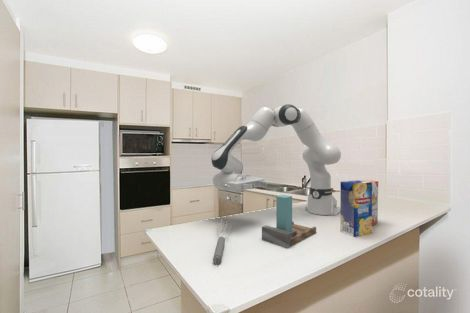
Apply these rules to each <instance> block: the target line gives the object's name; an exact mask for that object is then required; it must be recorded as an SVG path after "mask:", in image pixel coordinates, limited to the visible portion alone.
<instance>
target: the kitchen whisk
mask: <svg viewBox="0 0 470 313" xmlns="http://www.w3.org/2000/svg"><path fill="white" fill-rule="evenodd" d="M222 221H223V222H222ZM220 222H222V223H221V226H222V225H223V229H222V230H221V232H225V230H226V229H227V228H228V227H227V225H228V224H229V223H230V224H232V222H231V221H228V219H226V221H224V219H221V221H220ZM218 225H219V223H217V224H216V226H218ZM218 230H219V229H216V233H217V234H216V235H217V238H218V239H217V242H216V246H215V250H214V254H213V258H212V261H213V262H212V263H214V264H215V266H216V267H219V264H221V262H222V258H223V254H224V249H225V242H226V239H227V237H229V236H230V234H231V233H232V226H229V229H228V230H226V231H227V232H226V235H225V234H224V233H222V235H219V232H218ZM223 230H224V231H223ZM229 231H230V233H229ZM224 235H225V236H224ZM227 235H228V236H227ZM226 236H227V237H226Z"/></svg>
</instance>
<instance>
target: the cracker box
mask: <svg viewBox="0 0 470 313" xmlns="http://www.w3.org/2000/svg"><path fill="white" fill-rule="evenodd" d="M364 181H367V182H372V226H374V225H377V224H378V222H379V221H378V220H379V219H378V217H379V181H377V180H369V179H367V180H364Z"/></svg>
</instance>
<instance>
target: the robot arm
mask: <svg viewBox="0 0 470 313" xmlns="http://www.w3.org/2000/svg"><path fill="white" fill-rule="evenodd" d="M287 126H292V128H293V129H294V132H295V133H296V135H297V137H298V139H300V142H301V143H302V145H304V146H306V147H305V148H304V149H303V151H302V158H303V161H304V162H305V164H307V167H308V171H309V176H310V178H309V179H310V187H309V195H308V197H307V204H306V205H307V206H306V207H305V211H307V212H308V213H310V214H314V215H320V216H337V215H339V214H340V213H341V207H338V200H337V199H336V197H334V195H333V192H334V188H332V186H331V184H332V182H331V181H332V180H331V179H332V178H331V177H332V176H331V174H330V172H329V171H328V170H327V168H326V165H327V166H329V165H330V166H331V165H334V164H337V163H338V162H339V161H340V160H341V157H342V153H341V150H340V148H339V147H338V146H335V144H334V145H333V144H332V143H331V142H330V141H328V139H326V138H325V137H324V136H323V135H322V133H321V132H320V130H319V129H318V127H317V125H316V124H315V122H314V120H313V118H312V117H311V116H310V114H309V113H308V112H307V110H305V108H302V107H300V108H297V107H296V106H295V105H293V104H288V103H287V104H284V105H280V106H278V107H276V108H273V109H271V108H270V107H268V106H262V107H260V108H259V109H258V110H257V112H255V114H253V116H252V117H251V119H250V120H249V122H248V123H247V124H246V125H241V126H239V127H238V128H237V129H236V130H235V131H233V133H232V134H231V135H229V138H227V140H226V141H225V142H224V143H223V144H222V145H221V146H220V147H219V148H218V149H216V150H215V151H214V152H213V154H212V156H211V164H212V167H214V168H215V169H217V170H220V171H219V172H218V173H215V174H214V175H213V177H212V184H213V186H214V187H215V188H216V189H217V190H221V191H230V192H231V193H232V192H234V193H242V192H243V191H246V190H253V189H255V188H256V189H257V188H261V187H267V186H268V182H267V181H265V179H264V178H263V177H259V176H258V177H257V176H252V174H251V175H250V174H242V173H243V170H244V165H243V162H242V161H241V160H239V159H238V158H237V157H235V156H234V155H232V154H231V153H232V151H233V150H234V149H235V148H236V147H237V145H238V144H239V143H240V142H241V141H244V140H245V141H251V142H259V141H261V140H262V139H264V137H265V136H266V135H267V133H268V131H269V130H270V128H271V127H276V128H279V127H280V128H281V127H287Z"/></svg>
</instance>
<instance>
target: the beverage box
mask: <svg viewBox="0 0 470 313" xmlns="http://www.w3.org/2000/svg"><path fill="white" fill-rule="evenodd" d="M340 208H341V211H340V233H342V234H343V233H344V234H345V235H348V236H351V237H354V238H357V237H360V236H364V235H371V234H372V233H373V225H372V182H367V181H365V180H358V179H356V180H346V181H340Z"/></svg>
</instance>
